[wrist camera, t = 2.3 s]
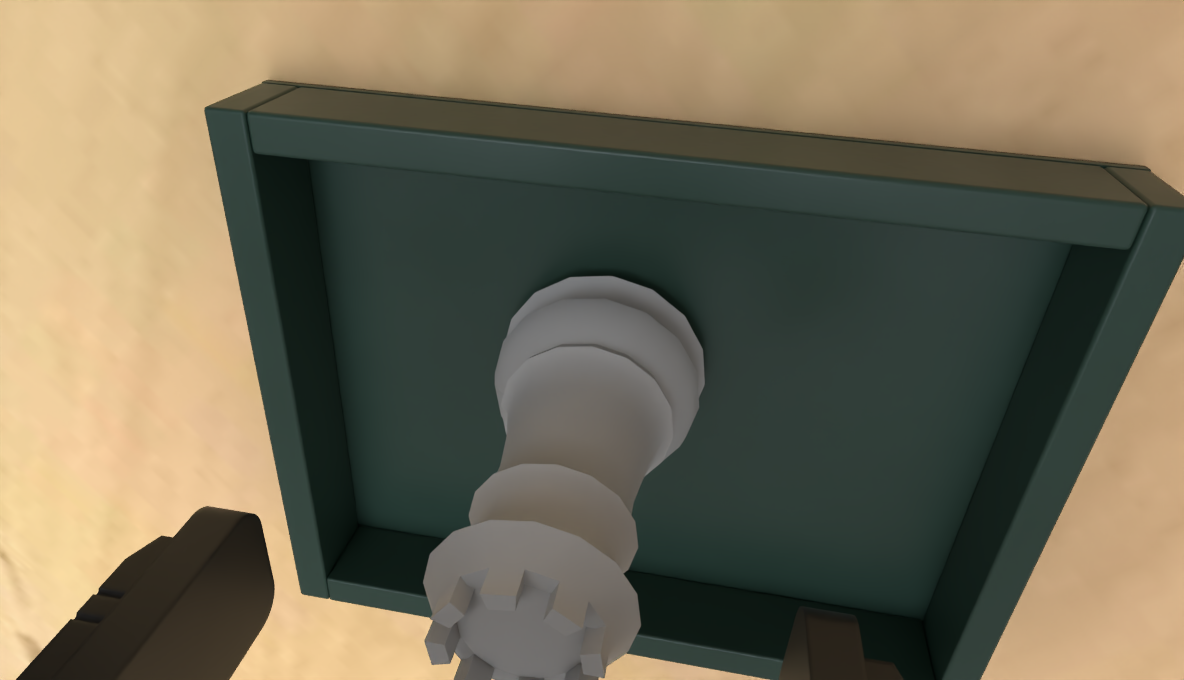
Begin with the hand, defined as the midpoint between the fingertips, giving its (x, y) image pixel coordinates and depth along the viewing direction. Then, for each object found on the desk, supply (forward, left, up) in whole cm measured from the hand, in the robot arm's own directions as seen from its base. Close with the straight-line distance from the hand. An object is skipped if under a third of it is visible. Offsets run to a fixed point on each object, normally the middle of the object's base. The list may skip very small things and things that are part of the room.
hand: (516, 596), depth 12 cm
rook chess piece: (0, 0, -7) cm, 7 cm away
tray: (-1, +1, -7) cm, 7 cm away
